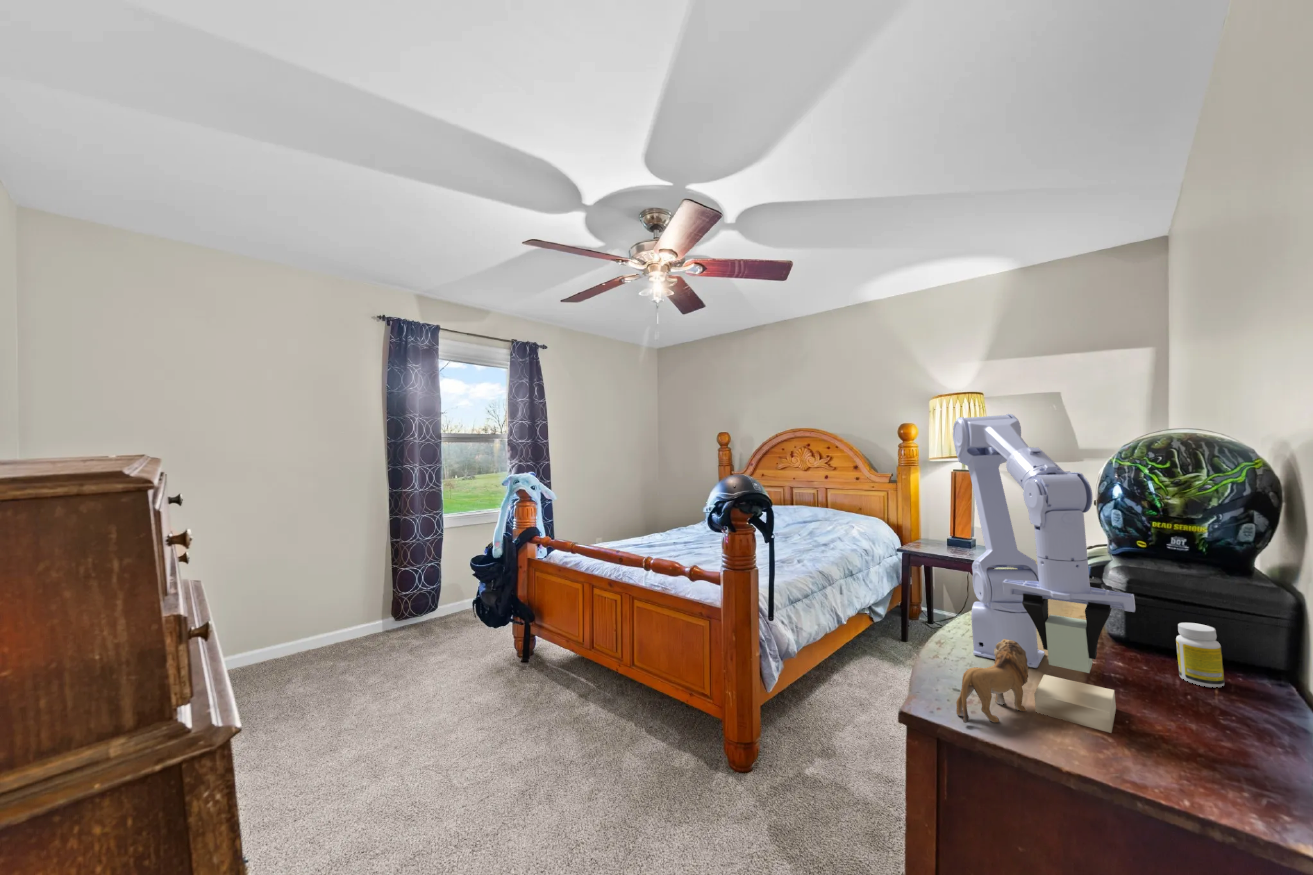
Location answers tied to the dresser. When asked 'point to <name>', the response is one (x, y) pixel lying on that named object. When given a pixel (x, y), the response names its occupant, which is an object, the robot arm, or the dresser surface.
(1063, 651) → the sage green block
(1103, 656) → the dresser surface
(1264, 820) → the dresser surface
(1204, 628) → the supplement bottle
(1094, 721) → the pale maple block
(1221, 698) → the dresser surface
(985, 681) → the lion figurine
